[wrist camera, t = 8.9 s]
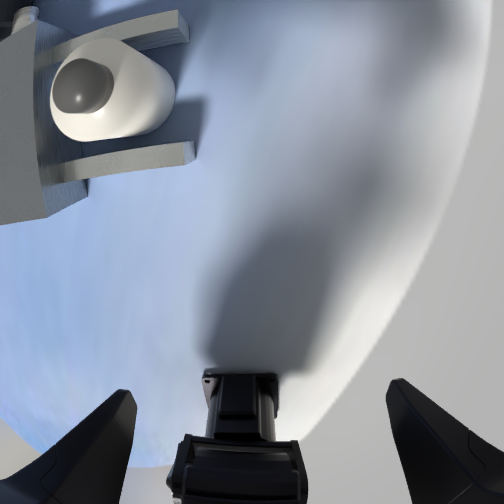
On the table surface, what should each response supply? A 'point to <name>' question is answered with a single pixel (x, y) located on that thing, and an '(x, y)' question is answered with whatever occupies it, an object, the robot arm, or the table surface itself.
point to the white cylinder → (110, 92)
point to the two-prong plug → (44, 127)
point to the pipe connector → (9, 15)
